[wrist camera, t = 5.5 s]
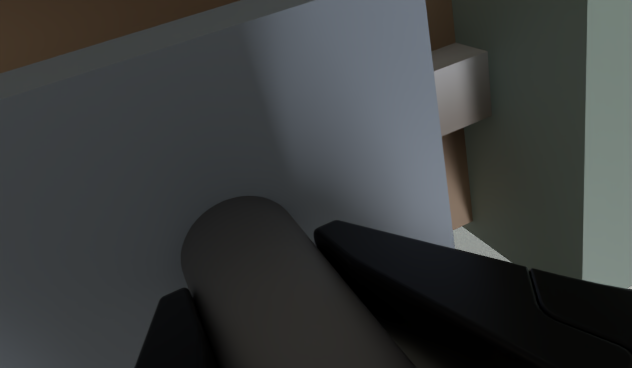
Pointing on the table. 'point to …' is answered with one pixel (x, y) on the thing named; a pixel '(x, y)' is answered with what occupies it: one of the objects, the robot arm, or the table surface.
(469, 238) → the table surface
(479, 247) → the table surface
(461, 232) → the table surface
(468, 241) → the table surface
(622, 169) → the grey green box
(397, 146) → the grey peg on base
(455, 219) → the rail track
